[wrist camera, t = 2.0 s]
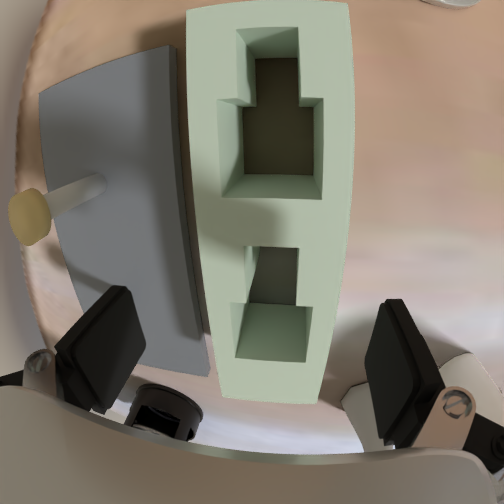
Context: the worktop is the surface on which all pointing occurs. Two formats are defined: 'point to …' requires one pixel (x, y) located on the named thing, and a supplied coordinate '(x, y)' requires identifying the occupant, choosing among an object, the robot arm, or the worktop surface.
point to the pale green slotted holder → (270, 190)
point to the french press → (168, 402)
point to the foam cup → (475, 385)
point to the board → (121, 199)
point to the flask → (363, 417)
